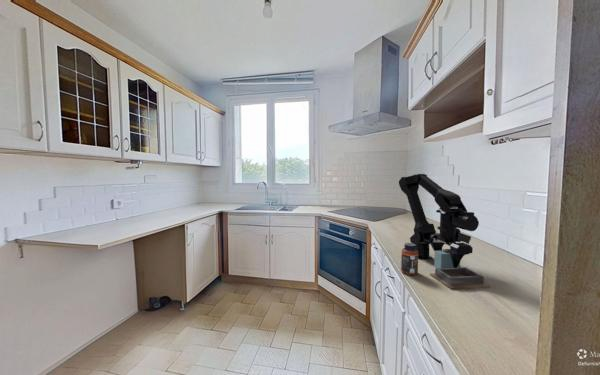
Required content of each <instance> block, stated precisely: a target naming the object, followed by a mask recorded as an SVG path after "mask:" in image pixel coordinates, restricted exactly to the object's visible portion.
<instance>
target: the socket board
mask: <svg viewBox="0 0 600 375" xmlns="http://www.w3.org/2000/svg"><path fill="white" fill-rule="evenodd" d="M429 276H431V277H432V278H434V280H436V281H438V282H439V283H440V284H442V285H443V286H445V287H446V288H448V289H450V290H467V289H469V290H470V289H484V288H485V289H486V288H487V289H488V288H491V285H490V284H487V283H485V282H484V279H485V276H483V275H481V274H479V273H478V272H475V271H473V270H471V269H470V268H467V267H460V268H440V269H436V268H435V272H434V273H429Z"/></svg>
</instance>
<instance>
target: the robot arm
mask: <svg viewBox="0 0 600 375" xmlns="http://www.w3.org/2000/svg"><path fill="white" fill-rule="evenodd" d="M398 186H399V188H400V189H401V192H403V193H404V194H405V195H406V198H407V200H408V204H409V207H410V212H411V213H412V217H413V220H414V223H415V224H414V227H413V234H412V235H411V236H410V237H409V242H410V243H413V244H415V245H416V250H417V251H418V260H422V259H423V260H424V259H433V257H432V256H431V255H430V246H431V248H432V250H433V251H434V253H435V251H439V250H443V246H444V245H447V246H449V249H451V251H450V255H451V259H452V264H453V267H454V268H457V267H458V265H459V263H460V264H461V261H462V259H463V258H464V257H465V256H466V255H469V254H473V246H472V245H471V244H470V241H471V240H472V236H470V235H468V234H465V233H462V232H461V230H464V231H468V232H475V231H476V230H477V229H478V227H479V225H480V224H479V219H478V218H477V216H476V215H475V212H474V211H468V210H467V208H466V206H465V205H464V203H463V201H462V200H461V196H460V195H459V194H457V193H455V192H453V191H451V190H447V189H444V188H443V187H442V186H440V185H439V184H438V183H437V182H435V181H434V180H433V179H431V178H430V177H428V175H427V174H425V173H416V174H412V175H409V176H402V177H401V178H400V179H399V181H398ZM420 186H421V188H422V189H424V190H425V191H426V192H428V193H429V194H430V195H431V196H432V197H433V198H434V202H435V203H436V205H438V207H439V208H438V209H437V210H436V211H435V212H436V213H439V218H440V219H439V226H437V227H436V228H437V230H438V231H439V232H437V230H436V228H435V224H434V223H430V222H429V221H428V220H427V218H426V214H425V211H424V208H423V205H422V203H421V202H422V201H421V199H420V196H419V193H418V191H419V189H420ZM460 229H461V230H460Z"/></svg>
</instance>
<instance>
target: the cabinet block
mask: <svg viewBox="0 0 600 375" xmlns="http://www.w3.org/2000/svg"><path fill="white" fill-rule="evenodd" d="M450 251H451V249H450V248H442V250H439V251H435V252H434V263H433V264H434V266H433V267H434V268H435V269H440V268H454V267H453V264H452V259H451V255H450ZM457 268H461V262H460V263H459V265H458V267H457Z"/></svg>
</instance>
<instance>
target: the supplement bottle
mask: <svg viewBox="0 0 600 375" xmlns="http://www.w3.org/2000/svg"><path fill="white" fill-rule="evenodd" d="M418 269H419V259H418V251H417V250H416V245H415V244H413V243H411V242H405V243H404V247H403V248H402V249H401V262H400V270H401V273H402V274H404V275H408V276H417V274H418V273H419V270H418Z"/></svg>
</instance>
